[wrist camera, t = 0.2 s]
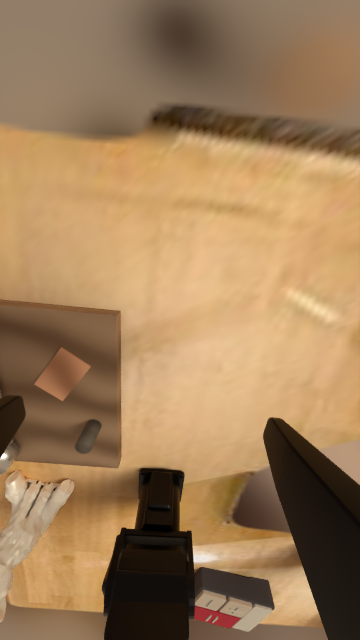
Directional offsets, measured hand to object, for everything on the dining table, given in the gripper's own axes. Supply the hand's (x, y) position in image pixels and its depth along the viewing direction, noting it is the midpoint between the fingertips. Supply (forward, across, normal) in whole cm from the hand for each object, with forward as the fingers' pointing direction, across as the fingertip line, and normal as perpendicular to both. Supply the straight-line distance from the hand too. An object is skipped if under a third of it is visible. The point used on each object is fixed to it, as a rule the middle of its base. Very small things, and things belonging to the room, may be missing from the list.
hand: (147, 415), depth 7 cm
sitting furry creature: (+15, +17, +32) cm, 39 cm away
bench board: (+14, +13, +12) cm, 23 cm away
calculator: (+15, -16, +59) cm, 63 cm away
